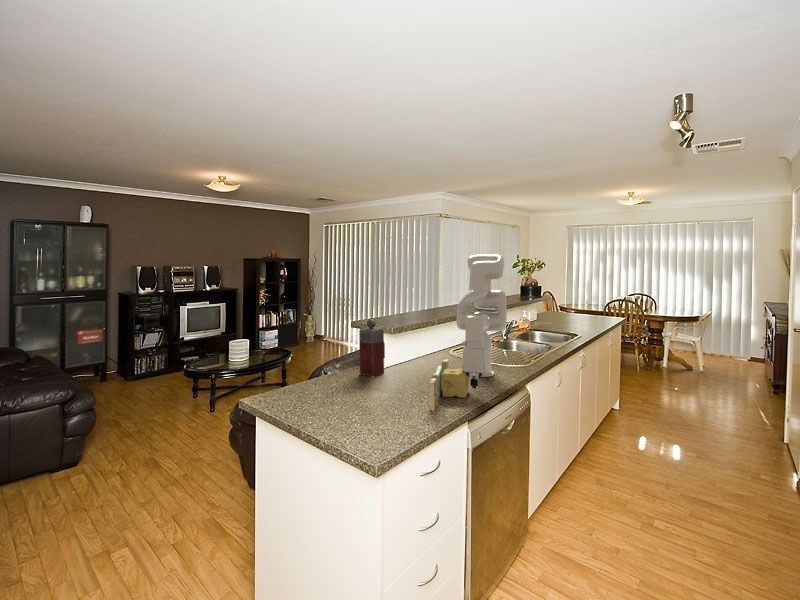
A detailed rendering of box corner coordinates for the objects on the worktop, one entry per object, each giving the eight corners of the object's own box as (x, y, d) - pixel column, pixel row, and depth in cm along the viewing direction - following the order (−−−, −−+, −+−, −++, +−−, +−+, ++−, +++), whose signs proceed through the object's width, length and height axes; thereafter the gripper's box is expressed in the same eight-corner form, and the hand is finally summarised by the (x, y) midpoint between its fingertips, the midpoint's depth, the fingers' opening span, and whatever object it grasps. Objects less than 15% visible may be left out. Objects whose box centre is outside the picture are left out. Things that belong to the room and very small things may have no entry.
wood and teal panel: (444, 382, 203) (444, 357, 202) (448, 382, 202) (448, 357, 201) (429, 410, 164) (428, 379, 163) (434, 410, 164) (434, 380, 163)
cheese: (466, 398, 177) (465, 374, 177) (440, 397, 180) (439, 373, 180) (469, 390, 187) (468, 368, 187) (445, 390, 190) (444, 367, 190)
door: (440, 401, 173) (440, 377, 172) (430, 401, 174) (430, 377, 173) (444, 387, 193) (444, 365, 192) (435, 387, 194) (435, 365, 193)
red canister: (387, 372, 222) (386, 318, 220) (373, 377, 213) (372, 321, 211) (374, 369, 228) (373, 317, 225) (359, 374, 219) (358, 319, 216)
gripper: (455, 345, 178) (455, 389, 179) (492, 347, 174) (491, 391, 176) (457, 342, 185) (457, 384, 187) (492, 343, 182) (492, 386, 183)
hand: (474, 387), depth 181 cm, fingers closed
